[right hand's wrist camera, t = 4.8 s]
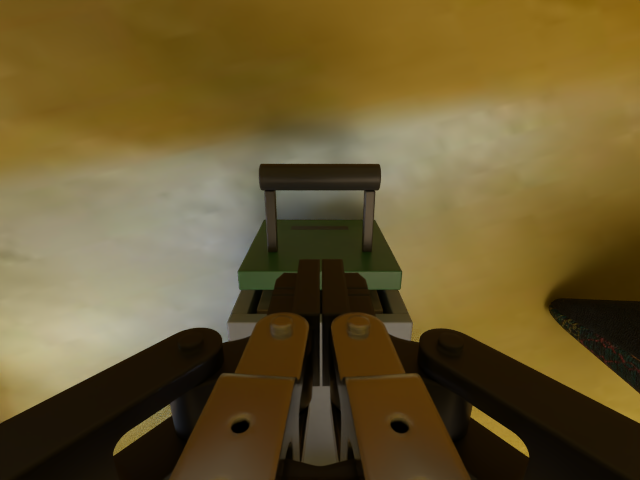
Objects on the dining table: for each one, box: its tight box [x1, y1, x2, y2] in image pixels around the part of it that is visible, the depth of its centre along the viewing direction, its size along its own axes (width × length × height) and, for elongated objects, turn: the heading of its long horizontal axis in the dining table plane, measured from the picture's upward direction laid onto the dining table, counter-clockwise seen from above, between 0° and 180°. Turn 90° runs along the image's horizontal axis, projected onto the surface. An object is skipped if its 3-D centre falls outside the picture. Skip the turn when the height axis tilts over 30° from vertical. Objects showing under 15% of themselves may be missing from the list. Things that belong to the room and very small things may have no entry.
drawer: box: [238, 164, 402, 314], centre depth 26 cm, size 21×9×10 cm, turn 0°
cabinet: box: [227, 290, 413, 466], centre depth 28 cm, size 17×10×12 cm, turn 0°
